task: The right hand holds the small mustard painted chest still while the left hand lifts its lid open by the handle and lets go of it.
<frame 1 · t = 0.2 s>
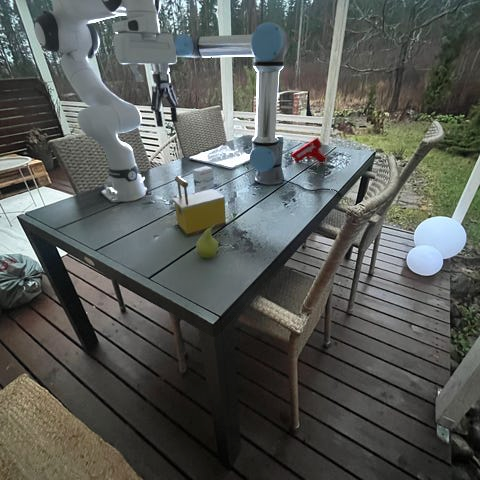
left hand: (152, 81, 87), 48 cm above the table, tool pointing down, fingers open, 8 cm apart
right hand: (167, 124, 132), 28 cm above the table, tool pointing down, fingers open, 13 cm apart
toy gun: (307, 162, 171), on the table
lid: (197, 188, 96), point 15 cm above the table, hinge at 0.0°
fruit: (209, 256, 87), on the table
relief map: (223, 158, 179), on the table
ink box: (204, 192, 131), on the table
chest: (202, 225, 104), on the table
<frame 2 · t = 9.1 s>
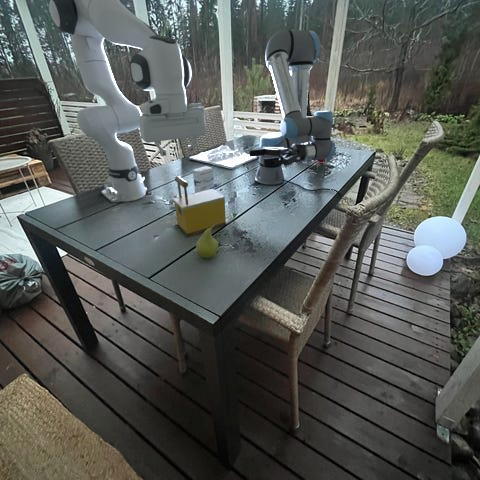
left hand: (177, 153, 86), 28 cm above the table, tool pointing down, fingers open, 8 cm apart
right hand: (256, 157, 109), 21 cm above the table, tool horizontal, fingers open, 13 cm apart
nothing on the table moved.
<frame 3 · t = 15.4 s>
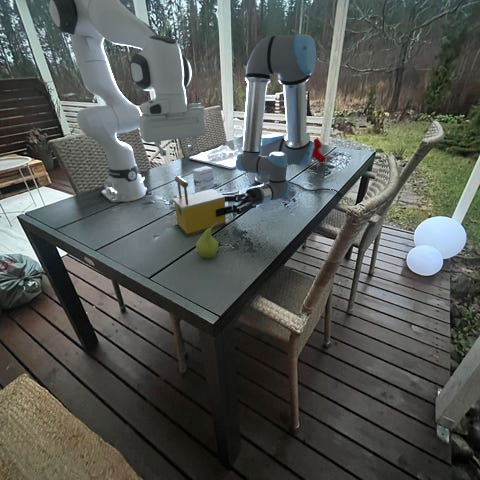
left hand: (177, 153, 86), 28 cm above the table, tool pointing down, fingers open, 8 cm apart
right hand: (210, 208, 103), 6 cm above the table, tool horizontal, fingers closed on chest, 9 cm apart
chest: (202, 225, 104), on the table, touching right hand
everything else where it was.
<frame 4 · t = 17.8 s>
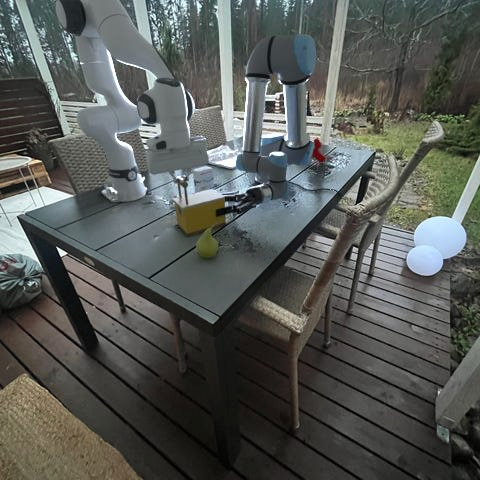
left hand: (181, 181, 91), 19 cm above the table, tool pointing down, fingers closed on lid, 2 cm apart
right hand: (210, 208, 103), 6 cm above the table, tool horizontal, fingers closed on chest, 9 cm apart
lid: (197, 188, 96), point 15 cm above the table, hinge at -0.1°, touching left hand
chest: (202, 225, 104), on the table, touching right hand
everything else where it was.
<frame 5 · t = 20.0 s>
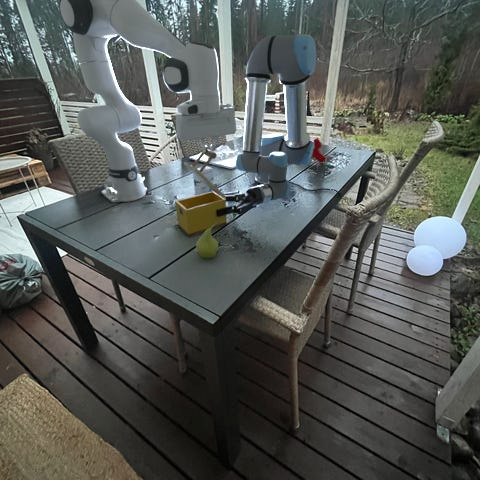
left hand: (209, 151, 91), 28 cm above the table, tool pointing down, fingers closed, pressing on lid
right hand: (210, 208, 103), 6 cm above the table, tool horizontal, fingers closed on chest, 9 cm apart
lid: (212, 171, 96), point 20 cm above the table, hinge at 49.2°, touching left hand
chest: (202, 225, 104), on the table, touching right hand
everything else where it was.
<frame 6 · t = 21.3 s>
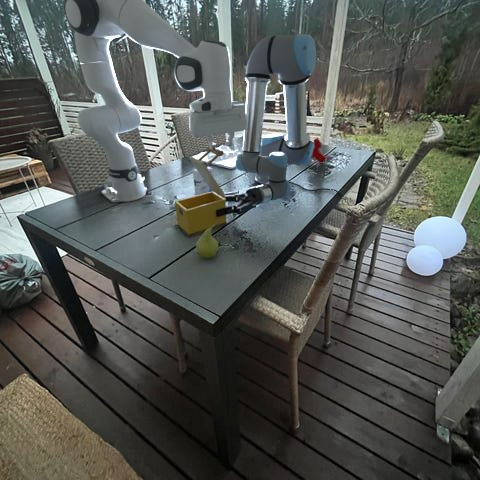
left hand: (220, 147, 93), 28 cm above the table, tool pointing down, fingers open, 5 cm apart
right hand: (210, 208, 103), 6 cm above the table, tool horizontal, fingers closed on chest, 9 cm apart
lid: (216, 170, 97), point 20 cm above the table, hinge at 59.6°, touching left hand
chest: (202, 225, 104), on the table, touching right hand
everything else where it was.
when the right hand's fingers open (6 cm above the table, at t = 24.4 s): chest stays where it is, on the table.
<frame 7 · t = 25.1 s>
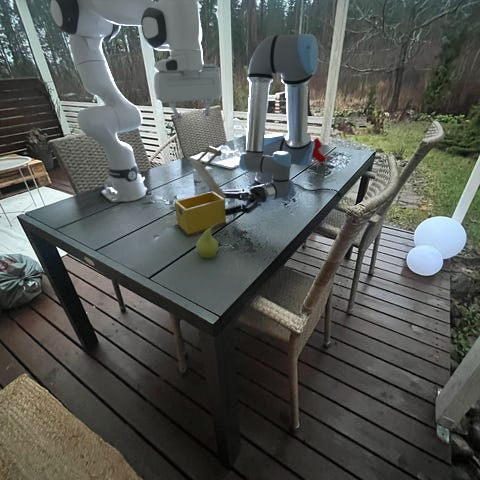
left hand: (192, 117, 84), 38 cm above the table, tool pointing down, fingers open, 8 cm apart
right hand: (217, 205, 105), 6 cm above the table, tool horizontal, fingers open, 13 cm apart
lid: (214, 170, 97), point 20 cm above the table, hinge at 58.2°
chest: (202, 225, 104), on the table
everything else where it was.
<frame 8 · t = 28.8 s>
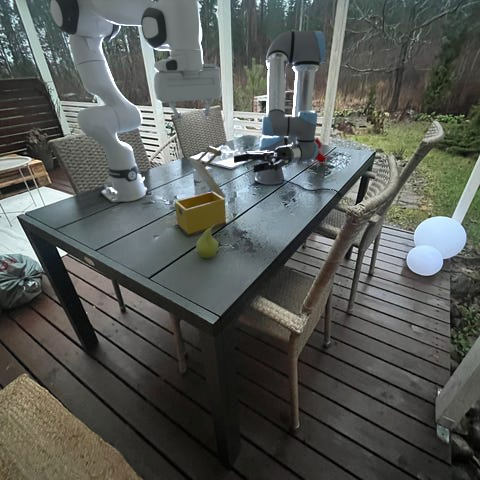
left hand: (192, 117, 84), 38 cm above the table, tool pointing down, fingers open, 8 cm apart
right hand: (243, 163, 102), 21 cm above the table, tool horizontal, fingers open, 13 cm apart
nothing on the table moved.
at the end: lid at +58° (first picture: +0°); the left hand is holding nothing; the right hand is holding nothing; chest tilted 0°; chest never tilted more than 1° during the clip; chest moved 0.1 cm from its start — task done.
